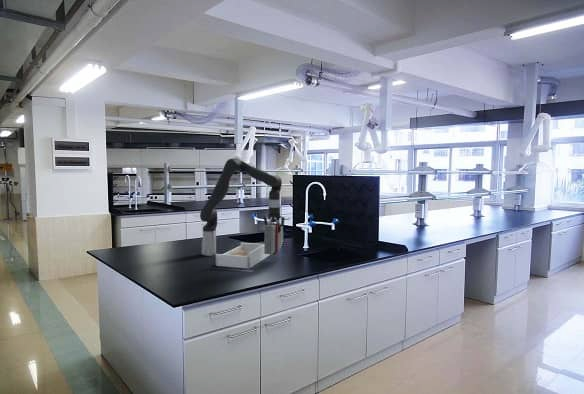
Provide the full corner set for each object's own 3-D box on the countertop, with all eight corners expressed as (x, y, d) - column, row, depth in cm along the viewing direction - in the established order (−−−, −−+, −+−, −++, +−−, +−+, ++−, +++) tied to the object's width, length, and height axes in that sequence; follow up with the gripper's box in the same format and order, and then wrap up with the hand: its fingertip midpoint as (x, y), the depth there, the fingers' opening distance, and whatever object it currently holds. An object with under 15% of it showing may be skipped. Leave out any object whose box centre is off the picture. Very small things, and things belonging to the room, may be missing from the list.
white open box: (215, 267, 230) (215, 251, 229) (241, 253, 268) (241, 239, 268) (249, 269, 224) (249, 253, 223) (270, 255, 262) (270, 241, 262)
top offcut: (229, 257, 242) (229, 254, 242) (242, 253, 256) (242, 250, 256) (237, 258, 240) (237, 255, 240) (249, 254, 253) (249, 251, 253)
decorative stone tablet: (273, 224, 224) (284, 222, 254) (263, 224, 226) (275, 222, 255) (272, 256, 224) (283, 250, 253) (262, 255, 225) (274, 250, 255)
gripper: (261, 206, 236) (261, 232, 238) (283, 207, 233) (283, 233, 234) (265, 205, 244) (265, 230, 245) (286, 206, 240) (286, 231, 241)
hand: (274, 232), depth 239 cm, fingers closed on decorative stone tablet, 6 cm apart
